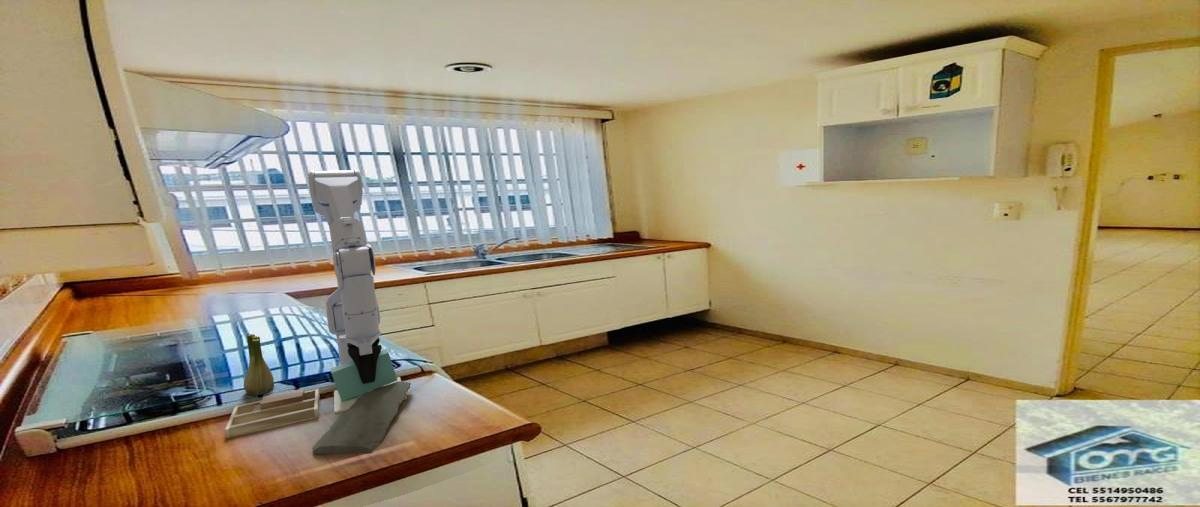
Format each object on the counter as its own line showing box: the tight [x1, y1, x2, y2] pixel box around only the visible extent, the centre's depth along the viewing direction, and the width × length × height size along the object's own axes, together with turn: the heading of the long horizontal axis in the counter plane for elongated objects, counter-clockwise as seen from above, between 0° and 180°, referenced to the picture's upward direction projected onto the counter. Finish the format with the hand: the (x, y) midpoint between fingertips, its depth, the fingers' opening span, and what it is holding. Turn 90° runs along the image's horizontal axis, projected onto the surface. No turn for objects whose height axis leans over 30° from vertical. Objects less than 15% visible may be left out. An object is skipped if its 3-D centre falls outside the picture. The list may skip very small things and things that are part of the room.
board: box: [330, 348, 397, 402], centre depth 92 cm, size 2×10×6 cm, turn 119°
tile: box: [333, 376, 407, 414], centre depth 93 cm, size 10×12×1 cm
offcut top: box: [260, 388, 305, 410], centre depth 88 cm, size 3×6×1 cm, turn 116°
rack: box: [224, 388, 321, 440], centre depth 86 cm, size 10×13×2 cm
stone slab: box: [311, 380, 412, 455], centre depth 83 cm, size 22×3×10 cm
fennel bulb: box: [243, 333, 275, 396], centre depth 96 cm, size 6×5×12 cm
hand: (368, 379), depth 92 cm, fingers closed on board, 2 cm apart
